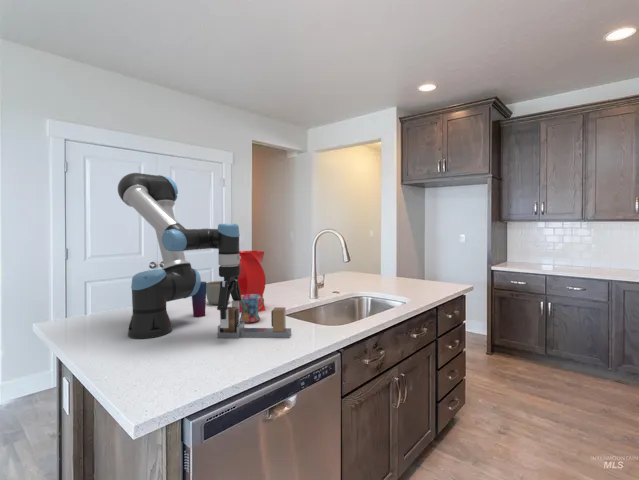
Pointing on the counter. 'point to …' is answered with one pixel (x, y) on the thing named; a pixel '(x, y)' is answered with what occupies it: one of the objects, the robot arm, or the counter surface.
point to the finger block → (232, 319)
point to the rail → (276, 332)
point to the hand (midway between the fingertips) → (230, 322)
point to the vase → (251, 275)
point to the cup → (199, 301)
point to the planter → (213, 292)
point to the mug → (250, 307)
